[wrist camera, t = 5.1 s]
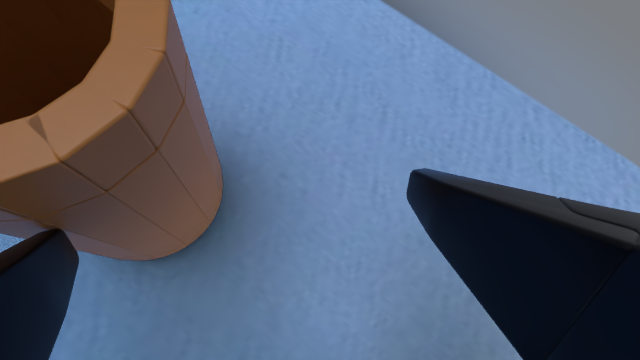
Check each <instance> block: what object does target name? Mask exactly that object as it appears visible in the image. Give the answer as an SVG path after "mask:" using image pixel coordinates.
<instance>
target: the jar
mask: <svg viewBox="0 0 640 360" xmlns="http://www.w3.org/2000/svg"><path fill="white" fill-rule="evenodd" d="M222 192H223V179H222V173H221V165H220V162H219V159H218V155H217V152H216V149H215V145H214V142H213V139H212V135H211V132H210V129H209V125H208V122H207V119H206V116H205V112H204V109H203V106H202V102H201V99H200V96H199V92H198V89H197V86H196V82H195V79H194V76H193V73H192V69H191V66H190V63H189V59H188V56H187V53H186V51H185V47H184V44H183V40H182V37H181V34H180V30H179V27H178V24H177V20H176V17H175V14H174V11H173V7H172V4H171V1H170V0H0V233H1V234H6V235H10V236H15V237H19V238H24V239H27V238H29V237H31V236H33V235H35V234H37V233H39V232H42V231H47V230H53V229H61V230H63V231H64V232H65V233H66V235H67V236H68V238H69V240H70V241H71V243H72V245H73V246H74V248H75V249H76V250H78V251H83V252H87V253H92V254H96V255H101V256H105V257H110V258H114V259H119V260H133V261H144V260H152V259H157V258H161V257H165V256H168V255H171V254H173V253H176V252H178V251H180V250H181V249H183V248H185V247H187V246H188V245H190V244H191V243H192V242H194V241H195V240H196V239H197V238H198V237H199V236H201V235H202V233H203V232H204V231H205V230H206V229H207V228H208V226H209V225H210V224H211V222H212V221H213V219H214V217H215V215H216V213H217V211H218V208H219V206H220V203H221V198H222Z"/></svg>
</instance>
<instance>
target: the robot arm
mask: <svg viewBox="0 0 640 360" xmlns="http://www.w3.org/2000/svg"><path fill="white" fill-rule="evenodd" d="M407 199H408V202H409V204H410V205H411V207H412V209H413V211H414V212H415V214H416V216H417V217H418V219H419V221H420V222H421V224H422V226H423V227H424V229H425V231H426V232H427V234H428V235H429V237H430V238H431V240H432V241H433V242H434V244H435V245H436V246H437V248H438V249H439V250H440V252H441V253H442V254H443V256H444V257H445V258H446V259H447V261H448V262H449V263H450V265H451V266H452V267H453V269H454V270H455V271H456V272H457V274H458V275H459V276H460V278H461V279H462V280H463V282H464V283H465V284H466V286H467V287H468V288H469V289H470V291H471V292H472V293H473V295H474V296H475V297H476V299H477V300H478V301H479V303H480V304H481V305H482V306H483V308H484V309H485V310H486V312H487V313H488V314H489V316H490V317H491V318H492V319H493V321H494V322H495V323H496V325H497V326H498V327H499V329H500V330H501V331H502V333H503V334H504V335H505V336H506V338H507V339H508V340H509V342H510V343H511V344H512V346H513V347H514V348H515V350H516V351H517V352H518V353H519V355H520V356H521V357H522V359H523V360H640V213H635V212H629V211H624V210H619V209H614V208H609V207H603V206H599V205H594V204H589V203H584V202H579V201H575V200H570V199H565V198H561V197H560V198H557V197H554V196H549V195H545V194H540V193H536V192H531V191H527V190H522V189H517V188H513V187H508V186H504V185H499V184H495V183H490V182H485V181H481V180H476V179H472V178H467V177H463V176H458V175H453V174H449V173H444V172H440V171H435V170H431V169H426V168H423V169H417V170H413V171H412V172H411V173H410V177H409V183H408V188H407ZM78 264H79V257H78V253H77V251H76V249H75V248H74V246H73V245H72V243H71V241H70V240H69V238H68V236H67V235H66V233H65V232H64V231H63V230H61V229H53V230H47V231H42V232H39V233H37V234H35V235H33V236H31V237H29V238H27V239H26V240H24V241H22V242H20V243H18V244H16V245H14V246H12V247H10V248H8V249H7V250H5V251H3V252H1V253H0V360H48V359H49V357H50V354H51V352H52V349H53V347H54V344H55V342H56V339H57V336H58V334H59V331H60V329H61V326H62V324H63V321H64V318H65V315H66V312H67V308H68V305H69V301H70V297H71V292H72V288H73V284H74V280H75V276H76V272H77V268H78Z"/></svg>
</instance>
